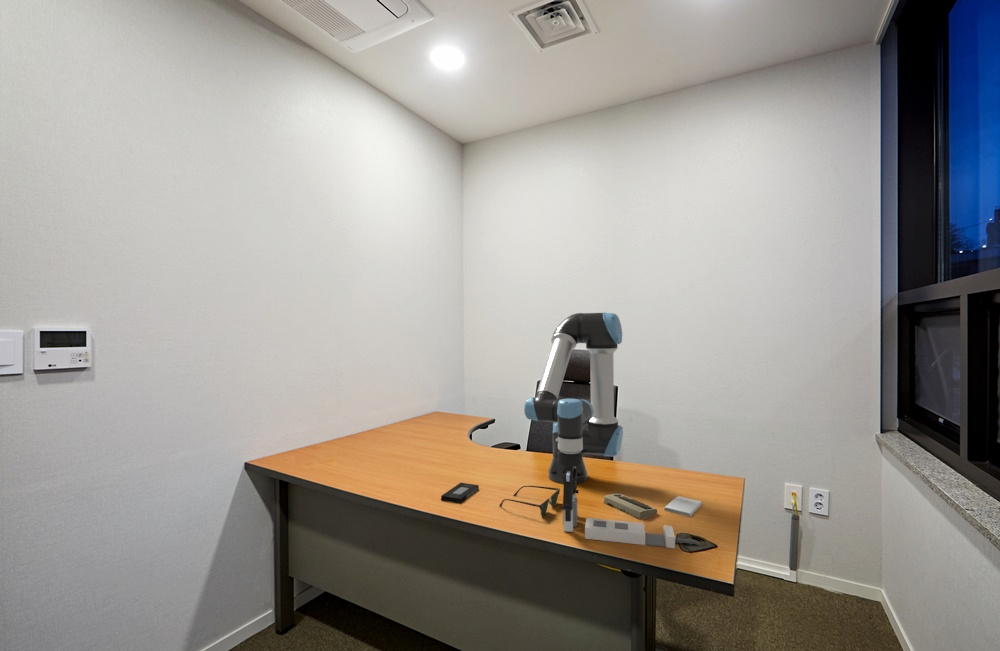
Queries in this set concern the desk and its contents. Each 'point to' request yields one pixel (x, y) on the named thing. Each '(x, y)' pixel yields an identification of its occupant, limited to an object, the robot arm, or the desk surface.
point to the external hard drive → (683, 506)
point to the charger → (574, 512)
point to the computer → (630, 506)
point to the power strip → (630, 533)
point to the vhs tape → (460, 492)
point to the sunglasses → (545, 504)
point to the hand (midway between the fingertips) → (570, 522)
